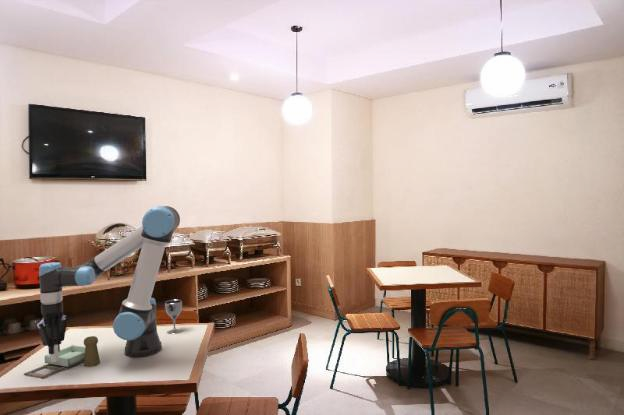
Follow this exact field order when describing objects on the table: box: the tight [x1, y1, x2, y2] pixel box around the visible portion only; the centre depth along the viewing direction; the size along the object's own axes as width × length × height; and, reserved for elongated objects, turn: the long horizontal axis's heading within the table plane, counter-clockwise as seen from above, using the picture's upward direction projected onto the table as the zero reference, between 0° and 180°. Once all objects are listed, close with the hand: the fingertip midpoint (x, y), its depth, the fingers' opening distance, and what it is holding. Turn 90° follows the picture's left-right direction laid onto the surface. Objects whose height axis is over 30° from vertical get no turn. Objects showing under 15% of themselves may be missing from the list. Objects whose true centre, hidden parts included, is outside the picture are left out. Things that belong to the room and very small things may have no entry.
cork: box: [83, 335, 101, 368], centre depth 177 cm, size 6×6×11 cm
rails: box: [23, 360, 84, 379], centre depth 176 cm, size 11×23×1 cm, turn 159°
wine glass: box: [164, 299, 183, 335], centre depth 217 cm, size 8×8×15 cm
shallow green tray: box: [44, 344, 85, 368], centre depth 180 cm, size 13×13×3 cm
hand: (54, 361), depth 173 cm, fingers closed
